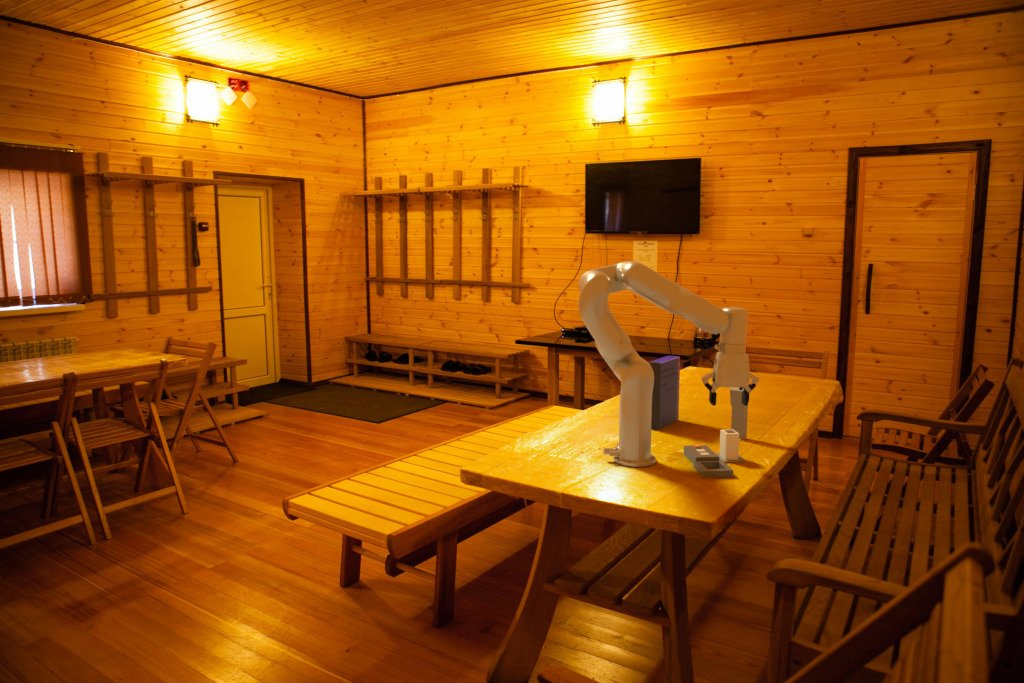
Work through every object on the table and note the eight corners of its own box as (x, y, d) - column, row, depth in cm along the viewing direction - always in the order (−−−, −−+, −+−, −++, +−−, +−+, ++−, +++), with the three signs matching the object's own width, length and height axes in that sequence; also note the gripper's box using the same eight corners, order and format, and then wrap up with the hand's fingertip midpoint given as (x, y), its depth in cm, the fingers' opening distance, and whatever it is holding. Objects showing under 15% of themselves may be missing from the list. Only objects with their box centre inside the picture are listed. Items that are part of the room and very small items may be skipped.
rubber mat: (720, 463, 212) (720, 461, 211) (711, 455, 219) (711, 453, 219) (746, 462, 212) (746, 460, 212) (736, 454, 220) (736, 452, 220)
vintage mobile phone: (732, 435, 241) (735, 363, 238) (746, 438, 238) (749, 364, 234) (727, 438, 238) (730, 364, 235) (742, 440, 235) (745, 366, 232)
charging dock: (703, 477, 198) (704, 465, 198) (681, 455, 220) (681, 443, 219) (733, 477, 199) (733, 464, 198) (708, 454, 220) (708, 443, 220)
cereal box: (666, 418, 265) (667, 355, 262) (678, 420, 262) (680, 356, 259) (646, 428, 251) (647, 361, 248) (659, 430, 248) (660, 363, 245)
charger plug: (725, 459, 213) (726, 433, 212) (719, 454, 218) (720, 429, 217) (738, 459, 213) (739, 433, 212) (732, 454, 218) (733, 428, 217)
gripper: (707, 350, 207) (704, 407, 209) (765, 351, 208) (761, 407, 210) (699, 346, 214) (696, 401, 217) (755, 347, 215) (751, 402, 217)
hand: (728, 404), depth 213 cm, fingers open, 9 cm apart
